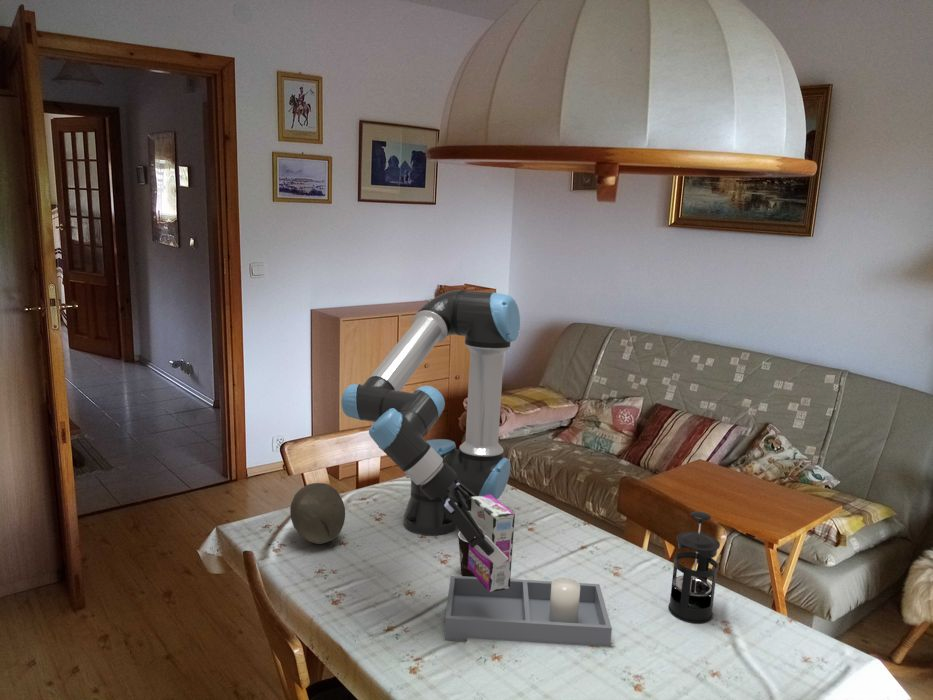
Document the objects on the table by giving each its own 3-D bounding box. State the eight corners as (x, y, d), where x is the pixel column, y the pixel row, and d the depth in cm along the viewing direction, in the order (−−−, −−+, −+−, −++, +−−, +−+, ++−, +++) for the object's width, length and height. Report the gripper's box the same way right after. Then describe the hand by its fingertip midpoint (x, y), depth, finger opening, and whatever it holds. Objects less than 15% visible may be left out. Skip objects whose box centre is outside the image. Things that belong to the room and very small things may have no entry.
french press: (702, 630, 149) (714, 528, 145) (660, 613, 155) (670, 515, 151) (721, 607, 158) (733, 511, 154) (681, 592, 164) (691, 499, 160)
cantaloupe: (352, 532, 188) (353, 478, 185) (333, 557, 174) (334, 499, 171) (302, 526, 190) (302, 473, 187) (279, 550, 176) (279, 493, 174)
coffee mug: (489, 585, 164) (491, 545, 162) (452, 580, 165) (454, 540, 163) (497, 562, 175) (499, 524, 173) (463, 557, 176) (464, 520, 175)
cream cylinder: (548, 611, 153) (550, 577, 151) (575, 612, 152) (578, 578, 151) (550, 627, 147) (552, 591, 145) (579, 628, 147) (581, 593, 145)
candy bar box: (511, 589, 144) (516, 513, 141) (489, 593, 142) (494, 516, 139) (487, 564, 154) (491, 492, 151) (466, 568, 152) (469, 495, 149)
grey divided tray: (449, 595, 159) (450, 575, 158) (597, 603, 158) (599, 584, 157) (444, 639, 142) (445, 618, 141) (609, 650, 141) (611, 628, 140)
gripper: (423, 465, 157) (489, 534, 159) (411, 509, 133) (488, 589, 135) (448, 443, 155) (514, 513, 158) (440, 483, 132) (517, 565, 134)
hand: (502, 548), depth 147 cm, fingers closed on candy bar box, 12 cm apart
